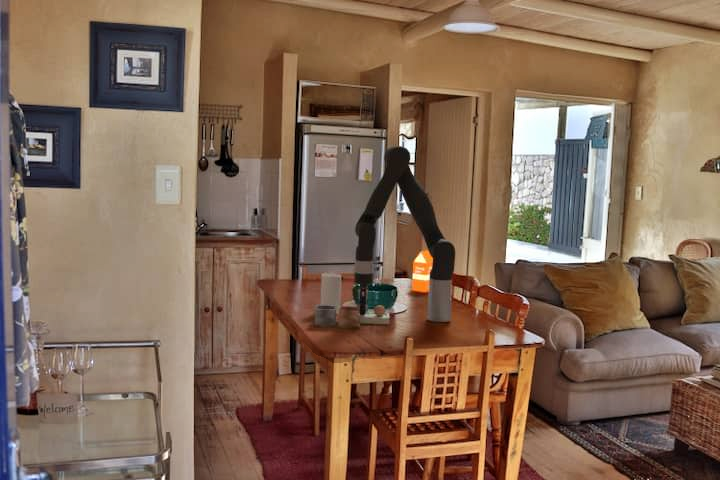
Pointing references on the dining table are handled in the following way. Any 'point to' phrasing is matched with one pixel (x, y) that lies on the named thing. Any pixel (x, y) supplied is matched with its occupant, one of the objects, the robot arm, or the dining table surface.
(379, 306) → the ball terracotta
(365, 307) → the ball slate
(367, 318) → the pocket board
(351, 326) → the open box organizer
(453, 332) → the dining table surface
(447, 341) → the dining table surface
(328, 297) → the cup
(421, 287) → the orange juice
